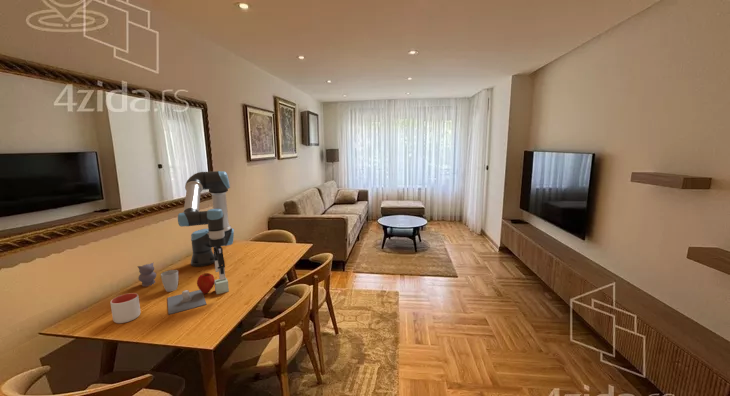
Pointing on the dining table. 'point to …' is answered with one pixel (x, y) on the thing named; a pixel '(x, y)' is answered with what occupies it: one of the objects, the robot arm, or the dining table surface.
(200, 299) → the grey piece
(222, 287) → the pale green block
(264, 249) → the dining table surface
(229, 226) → the robot arm
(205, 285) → the apple
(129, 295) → the cup
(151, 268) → the cat figurine
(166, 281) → the cup
